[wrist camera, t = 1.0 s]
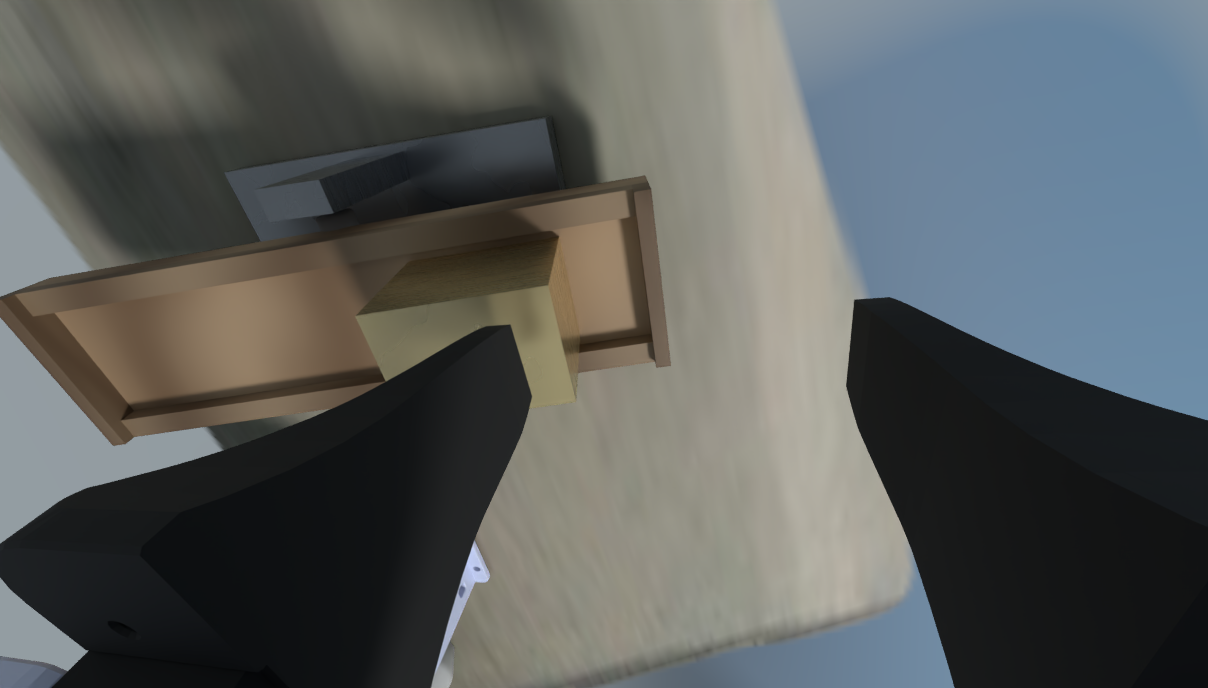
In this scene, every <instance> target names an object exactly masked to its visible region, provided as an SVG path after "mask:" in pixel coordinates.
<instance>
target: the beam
mask: <svg viewBox="0 0 1208 688" xmlns="http://www.w3.org/2000/svg"><path fill="white" fill-rule="evenodd" d="M315 220H316V222H317V224H318V226H319V228H320V232H314V233H309V234H303V235H297V236H291V237H285V238H280V239H274V240H268V241H262V242H256V243H251V244H245V245H239V246H233V247H227V248H221V249H216V250H210V251H204V252H198V253H192V254H187V255H181V256H175V257H169V258H163V259H158V260H152V261H146V262H140V263H134V264H128V265H123V266H117V267H111V268H105V269H99V270H94V271H88V272H82V273H76V274H71V275H65V276H59V277H53V278H49V279H46V280H43V281H41V282H38V283H36V284H33V285H30V286H28V287H25V288H23V289H20V290H17V291H15V292H12V293H9V294H7V295H4V296H1V297H0V318H1V319H2V320H3V321H4V322H5V323H6V324H7V325H8V327H9V328H10V329H11V330H12V331H13V332H14V333H15V335H16V336H17V337H18V338H19V339H20V340H21V341H22V342H23V344H24V345H25V346H26V347H27V348H28V349H29V350H30V352H31V353H32V354H33V355H34V356H35V357H36V359H37V360H38V361H39V362H40V363H41V364H42V365H43V366H44V368H45V369H46V370H47V371H48V372H49V373H50V374H51V376H52V377H53V378H54V379H55V380H56V381H57V382H58V383H59V385H60V386H61V387H62V388H63V389H64V390H65V392H66V393H67V394H68V395H69V396H70V397H71V398H72V399H73V401H74V402H75V403H76V404H77V405H78V406H79V407H80V409H81V410H82V411H83V412H84V413H85V414H86V415H87V417H88V418H89V419H90V420H91V421H92V422H93V423H94V424H95V426H96V427H97V428H98V429H99V430H100V431H101V432H102V434H103V435H104V436H105V437H106V438H107V439H108V440H109V442H110V443H111V444H112V445H113V446H115V445H122V444H126V443H127V442H129V441H130V440H131V439H132V438H133V437H137V436H144V435H151V434H158V433H164V432H172V431H179V430H186V429H193V428H200V427H207V426H214V425H220V424H227V423H234V422H241V421H248V420H255V419H262V418H269V417H276V416H283V415H290V414H296V413H303V412H310V411H317V410H324V409H331V408H335V407H337V406H339V405H341V404H343V403H345V402H348V401H350V400H352V399H354V398H356V397H358V396H360V395H362V394H364V393H366V392H368V391H369V390H371V389H373V388H375V387H377V386H379V385H380V384H382V383H384V382H386V381H385V379H384V377H383V374H382V372H381V370H380V368H379V366H378V364H377V362H376V360H375V357H374V355H373V353H372V351H371V349H370V347H369V345H368V343H367V340H366V338H365V336H364V334H363V332H362V330H361V328H360V325H359V323H358V321H357V319H356V317H355V316H356V315H357V314H358V312H359V311H360V310H361V309H362V308H363V307H364V306H365V305H366V304H367V303H368V302H369V301H370V300H371V299H372V298H373V297H374V296H375V295H376V294H377V293H378V292H379V291H380V290H381V289H382V288H383V287H384V286H385V285H386V284H387V283H388V282H389V281H390V280H391V279H392V278H393V277H394V276H395V275H396V274H397V273H398V272H399V271H400V270H401V269H402V268H403V267H404V266H405V265H406V264H407V263H408V262H409V261H414V260H420V259H426V258H432V257H438V256H444V255H450V254H456V253H462V252H468V251H474V250H480V249H486V248H492V247H498V246H504V245H510V244H516V243H522V242H529V241H535V240H541V239H547V238H553V237H560V242H561V247H562V251H563V256H564V261H565V265H566V270H567V275H568V279H569V284H570V288H571V293H572V298H573V302H574V307H575V312H576V316H577V321H578V326H579V330H580V348H579V363H578V373H580V372H587V371H594V370H601V369H608V368H615V367H621V366H628V365H635V364H642V363H649V362H655V363H656V368H658V367H665V366H671V362H670V353H669V344H668V335H667V326H666V317H665V308H664V299H663V290H662V282H661V273H660V264H659V255H658V246H657V237H656V228H655V219H654V210H653V201H652V193H651V188H650V186H649V183H648V181H647V179H646V177H645V176H640V177H634V178H628V179H622V180H617V181H611V182H605V183H599V184H593V185H588V186H582V187H576V188H570V189H564V190H559V191H553V192H547V193H541V194H535V195H529V196H524V197H518V198H512V199H506V200H500V201H495V202H489V203H483V204H477V205H471V206H466V207H460V208H454V209H448V210H442V211H436V212H431V213H425V214H419V215H413V216H407V217H402V218H396V219H390V220H384V221H378V222H373V223H367V224H361V225H359V223H358V221H357V218H356V216H355V214H354V211H353V209H344V210H340V211H338V212H335V213H332V214H325V215H321V216H319V217H317V218H316V219H315Z"/></svg>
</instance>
